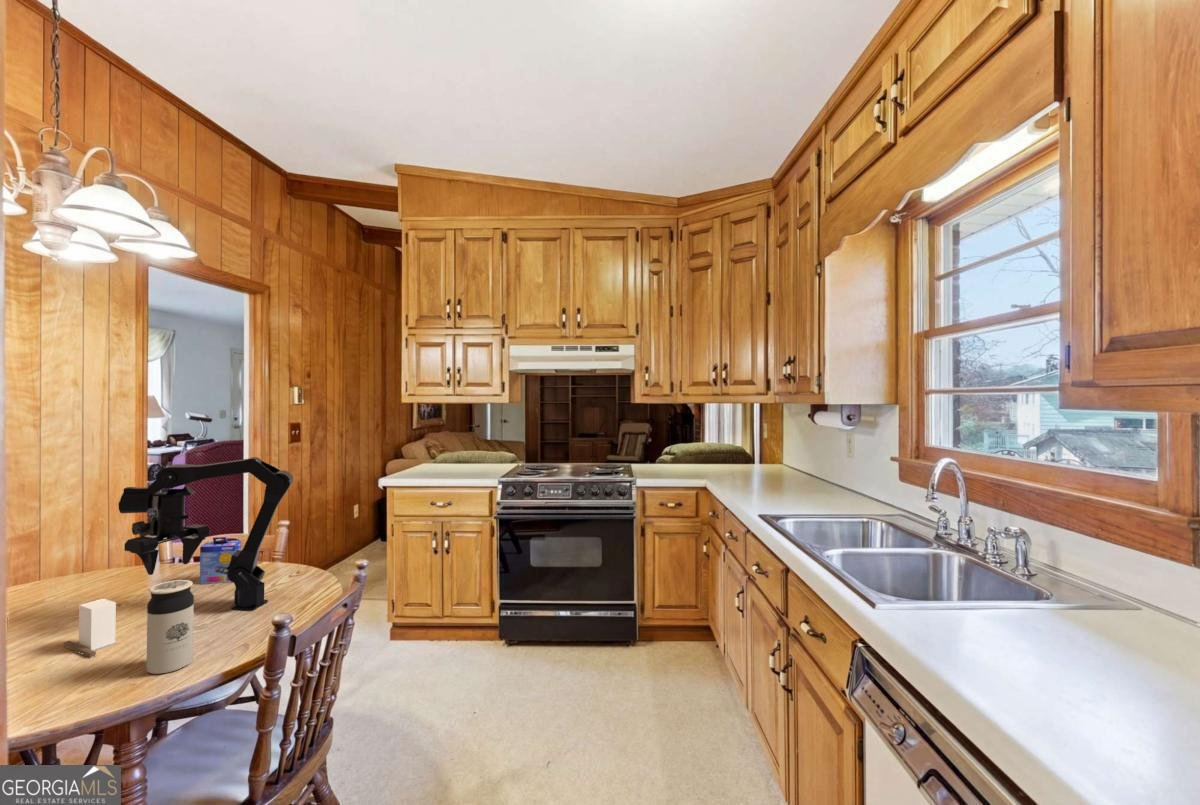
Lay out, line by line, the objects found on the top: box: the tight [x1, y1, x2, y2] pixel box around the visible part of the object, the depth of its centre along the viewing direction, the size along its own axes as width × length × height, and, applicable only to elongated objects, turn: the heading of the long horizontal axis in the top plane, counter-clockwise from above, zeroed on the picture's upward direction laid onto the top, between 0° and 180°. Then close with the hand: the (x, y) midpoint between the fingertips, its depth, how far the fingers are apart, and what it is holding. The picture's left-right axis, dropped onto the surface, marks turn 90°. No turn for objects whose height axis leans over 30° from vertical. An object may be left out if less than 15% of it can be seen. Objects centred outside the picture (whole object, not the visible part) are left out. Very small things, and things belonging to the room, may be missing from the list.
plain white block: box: [78, 597, 117, 651], centre depth 123 cm, size 4×6×10 cm
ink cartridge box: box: [199, 536, 242, 585], centre depth 166 cm, size 10×6×14 cm, turn 107°
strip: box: [63, 640, 97, 658], centre depth 120 cm, size 1×12×1 cm, turn 67°
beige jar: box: [145, 579, 195, 675], centre depth 115 cm, size 8×8×18 cm
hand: (168, 569), depth 140 cm, fingers open, 9 cm apart
